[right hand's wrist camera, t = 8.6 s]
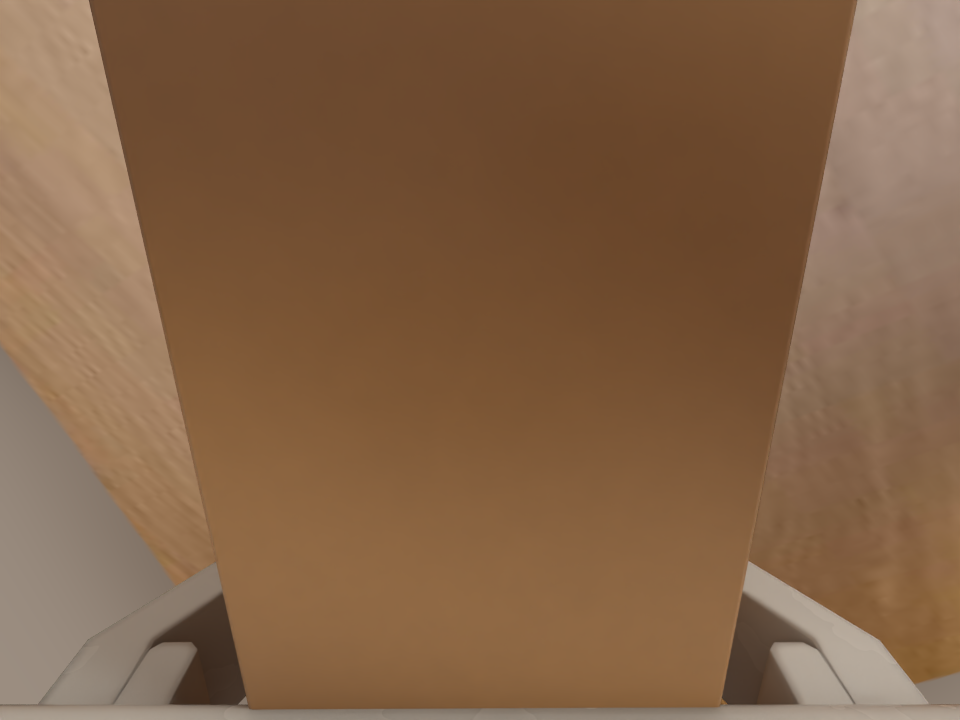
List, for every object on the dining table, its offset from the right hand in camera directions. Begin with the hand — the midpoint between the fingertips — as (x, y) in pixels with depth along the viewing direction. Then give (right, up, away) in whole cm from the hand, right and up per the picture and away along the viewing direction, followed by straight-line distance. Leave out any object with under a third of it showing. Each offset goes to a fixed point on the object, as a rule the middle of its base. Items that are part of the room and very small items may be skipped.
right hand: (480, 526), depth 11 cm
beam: (0, +31, -9) cm, 32 cm away
